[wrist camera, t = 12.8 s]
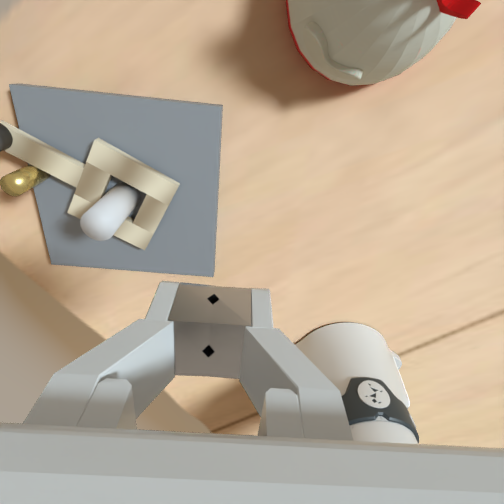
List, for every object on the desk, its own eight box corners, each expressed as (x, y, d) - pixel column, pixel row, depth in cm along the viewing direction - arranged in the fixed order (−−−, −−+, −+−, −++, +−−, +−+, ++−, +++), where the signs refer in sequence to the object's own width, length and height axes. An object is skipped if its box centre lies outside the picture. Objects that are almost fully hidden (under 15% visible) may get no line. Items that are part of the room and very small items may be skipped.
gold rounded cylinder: (52, 180, 36) (25, 197, 32) (33, 179, 36) (3, 195, 31) (48, 162, 35) (19, 176, 31) (28, 160, 35) (-3, 174, 30)
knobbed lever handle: (180, 183, 36) (172, 196, 32) (147, 246, 39) (137, 264, 36) (0, 82, 31) (-32, 85, 27) (-18, 165, 35) (-48, 177, 31)
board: (214, 270, 44) (206, 319, 35) (57, 258, 42) (11, 305, 34) (222, 105, 34) (213, 119, 25) (18, 83, 33) (-60, 90, 24)
